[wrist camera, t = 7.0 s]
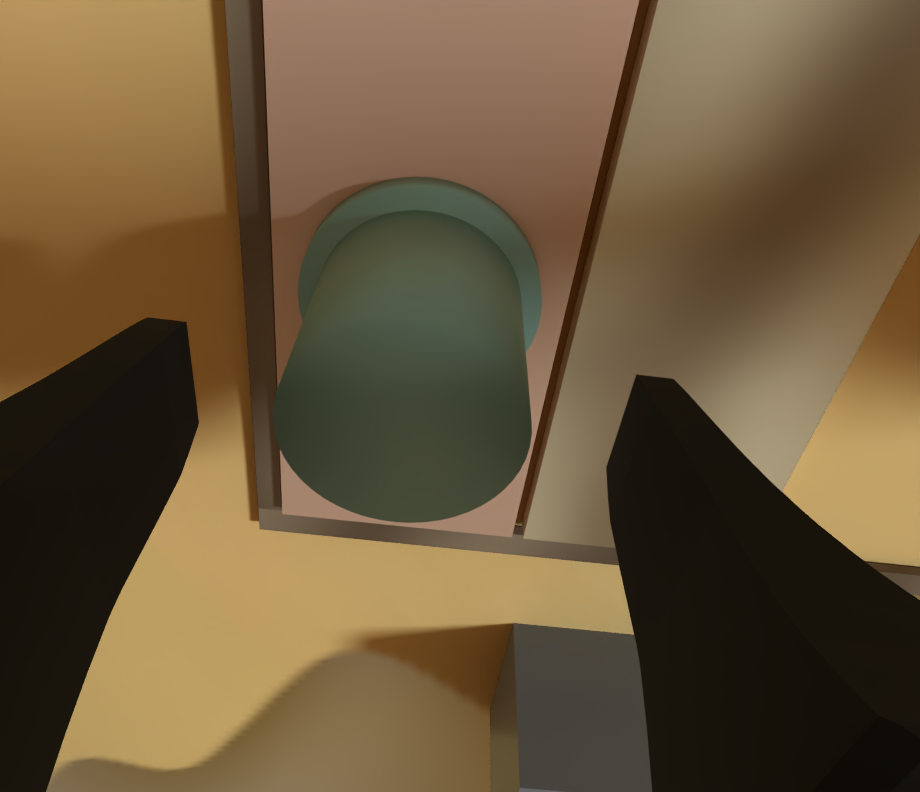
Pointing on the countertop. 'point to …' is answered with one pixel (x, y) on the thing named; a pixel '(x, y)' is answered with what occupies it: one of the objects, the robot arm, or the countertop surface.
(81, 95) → the countertop surface
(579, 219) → the board
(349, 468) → the teal flanged knob
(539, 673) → the die
